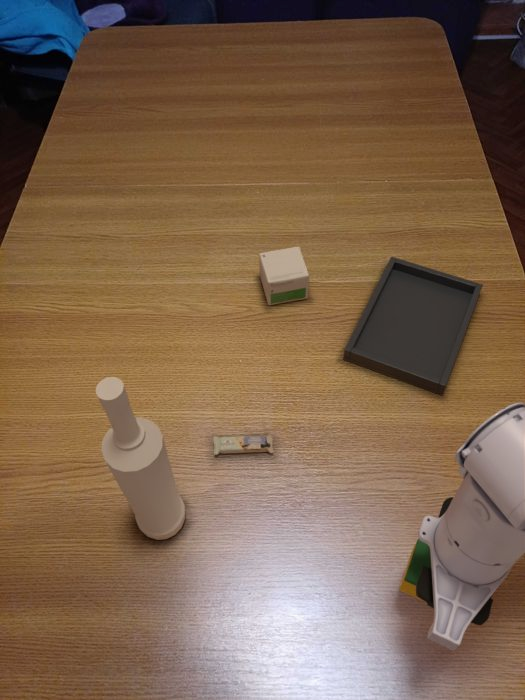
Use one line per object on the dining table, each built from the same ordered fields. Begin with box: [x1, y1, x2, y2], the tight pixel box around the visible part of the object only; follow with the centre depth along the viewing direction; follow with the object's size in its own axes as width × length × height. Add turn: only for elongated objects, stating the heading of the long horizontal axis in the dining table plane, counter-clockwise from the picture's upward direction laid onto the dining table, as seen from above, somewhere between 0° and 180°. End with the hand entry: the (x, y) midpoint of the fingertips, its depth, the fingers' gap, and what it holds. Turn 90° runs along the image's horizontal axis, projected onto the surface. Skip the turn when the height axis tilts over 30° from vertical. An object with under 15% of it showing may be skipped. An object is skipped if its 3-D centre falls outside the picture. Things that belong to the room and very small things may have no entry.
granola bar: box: [212, 434, 274, 456], centre depth 69 cm, size 7×2×1 cm, turn 92°
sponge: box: [398, 537, 493, 626], centre depth 54 cm, size 7×4×4 cm, turn 64°
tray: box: [342, 256, 484, 396], centre depth 79 cm, size 13×18×2 cm
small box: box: [258, 245, 310, 306], centre depth 82 cm, size 6×6×5 cm
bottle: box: [95, 376, 186, 541], centre depth 55 cm, size 5×5×25 cm
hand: (446, 581), depth 54 cm, fingers closed on sponge, 4 cm apart
